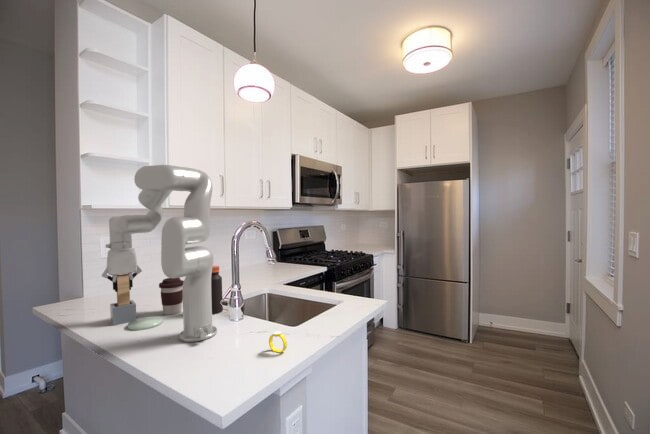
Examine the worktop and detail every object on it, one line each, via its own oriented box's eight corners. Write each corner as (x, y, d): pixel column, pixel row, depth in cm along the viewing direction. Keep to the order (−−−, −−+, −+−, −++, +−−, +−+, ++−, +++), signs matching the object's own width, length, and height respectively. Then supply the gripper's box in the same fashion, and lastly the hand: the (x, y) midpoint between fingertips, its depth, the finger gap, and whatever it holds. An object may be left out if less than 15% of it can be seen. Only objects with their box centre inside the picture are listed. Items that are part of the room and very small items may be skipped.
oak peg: (130, 308, 126) (128, 274, 126) (118, 310, 123) (117, 276, 123) (128, 306, 129) (127, 273, 129) (117, 308, 127) (115, 275, 126)
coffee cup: (189, 309, 140) (188, 276, 140) (176, 316, 130) (175, 281, 130) (168, 308, 141) (167, 276, 141) (154, 316, 131) (153, 281, 131)
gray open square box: (136, 320, 126) (135, 303, 126) (112, 325, 121) (112, 308, 121) (133, 316, 132) (132, 299, 132) (110, 320, 127) (110, 303, 127)
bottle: (226, 310, 136) (224, 266, 136) (213, 315, 130) (212, 268, 130) (215, 308, 140) (214, 265, 139) (203, 313, 134) (201, 267, 134)
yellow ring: (268, 352, 95) (266, 333, 95) (273, 348, 97) (272, 330, 97) (283, 355, 92) (281, 335, 92) (289, 351, 94) (287, 331, 94)
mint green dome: (166, 324, 121) (166, 321, 121) (130, 332, 113) (130, 329, 113) (159, 317, 130) (159, 314, 130) (125, 324, 122) (125, 321, 122)
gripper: (96, 248, 118) (98, 296, 118) (146, 244, 129) (147, 288, 129) (95, 247, 124) (97, 292, 124) (142, 243, 134) (144, 285, 135)
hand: (123, 289), depth 126 cm, fingers closed on oak peg, 4 cm apart
